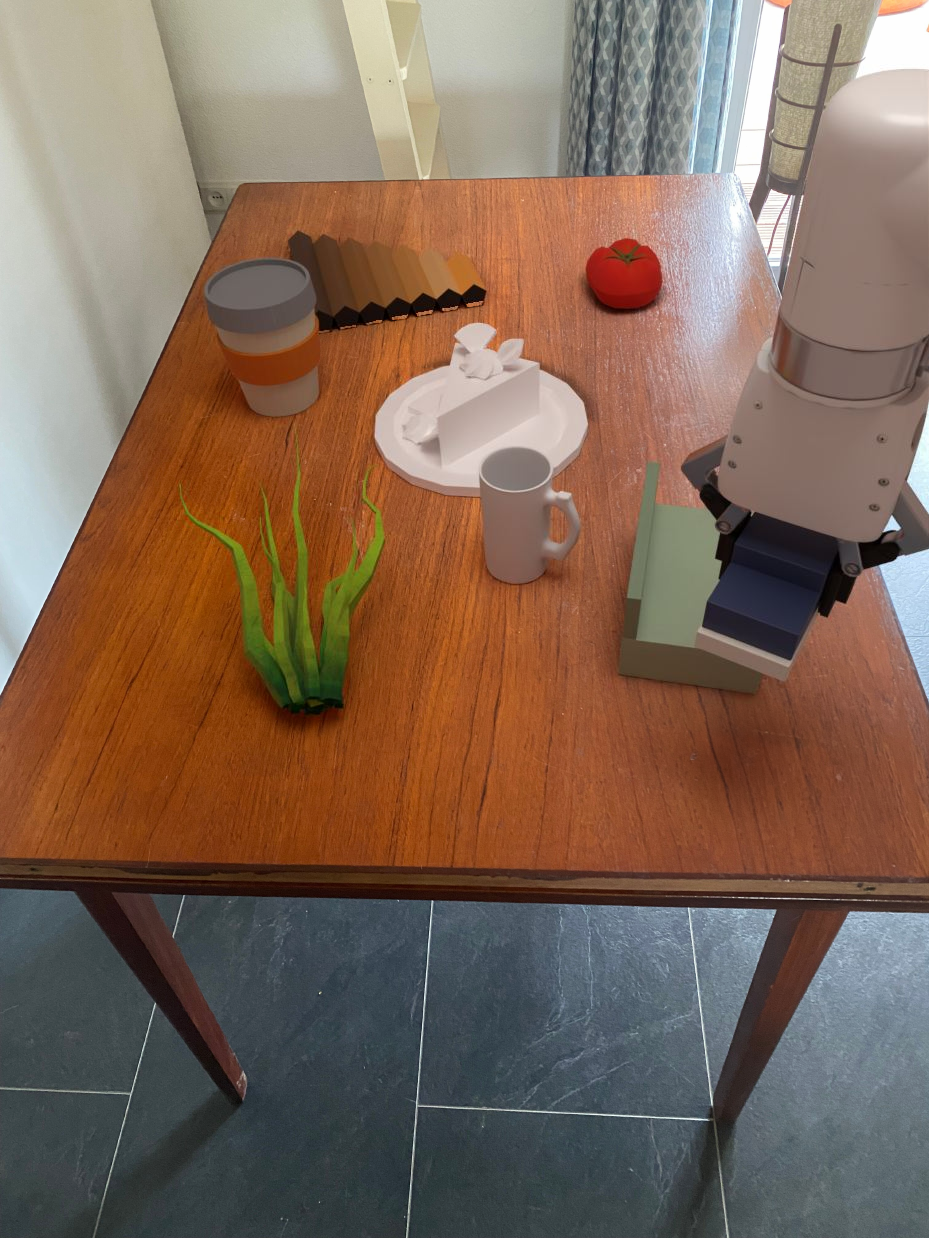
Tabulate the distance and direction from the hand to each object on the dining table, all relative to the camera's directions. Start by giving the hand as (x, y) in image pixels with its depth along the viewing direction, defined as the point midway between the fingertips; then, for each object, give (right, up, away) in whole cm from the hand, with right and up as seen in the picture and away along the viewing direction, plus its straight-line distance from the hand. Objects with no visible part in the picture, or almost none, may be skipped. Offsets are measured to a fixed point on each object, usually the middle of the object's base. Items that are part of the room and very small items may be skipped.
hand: (779, 583), depth 61 cm
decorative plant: (-38, -1, +28) cm, 47 cm away
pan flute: (-33, +48, +72) cm, 93 cm away
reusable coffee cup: (-44, +26, +53) cm, 73 cm away
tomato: (+1, +42, +65) cm, 78 cm away
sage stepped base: (0, -2, +25) cm, 25 cm away
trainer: (0, -1, +1) cm, 1 cm away
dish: (-19, +20, +46) cm, 54 cm away
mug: (-14, +3, +30) cm, 33 cm away
